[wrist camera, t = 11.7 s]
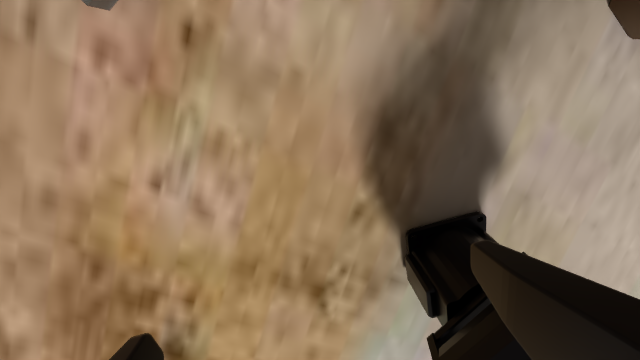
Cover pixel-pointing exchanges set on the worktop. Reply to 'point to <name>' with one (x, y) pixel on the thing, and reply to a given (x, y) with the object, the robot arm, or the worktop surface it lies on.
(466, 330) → the robot arm
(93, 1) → the slate plinth
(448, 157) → the worktop surface
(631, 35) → the beer bottle
